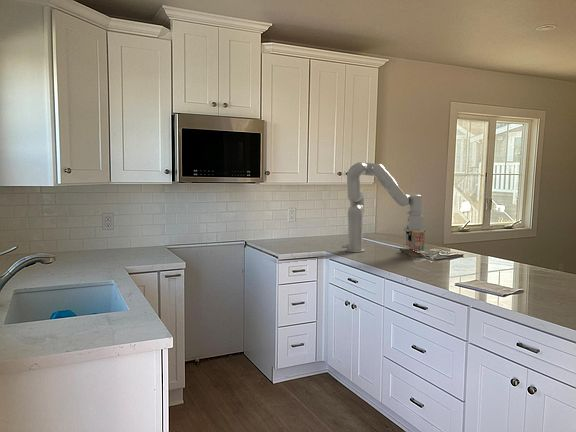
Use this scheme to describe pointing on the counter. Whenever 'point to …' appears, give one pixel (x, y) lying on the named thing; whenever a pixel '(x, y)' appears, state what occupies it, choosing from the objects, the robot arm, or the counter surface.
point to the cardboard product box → (416, 240)
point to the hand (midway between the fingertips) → (415, 240)
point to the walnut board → (411, 252)
